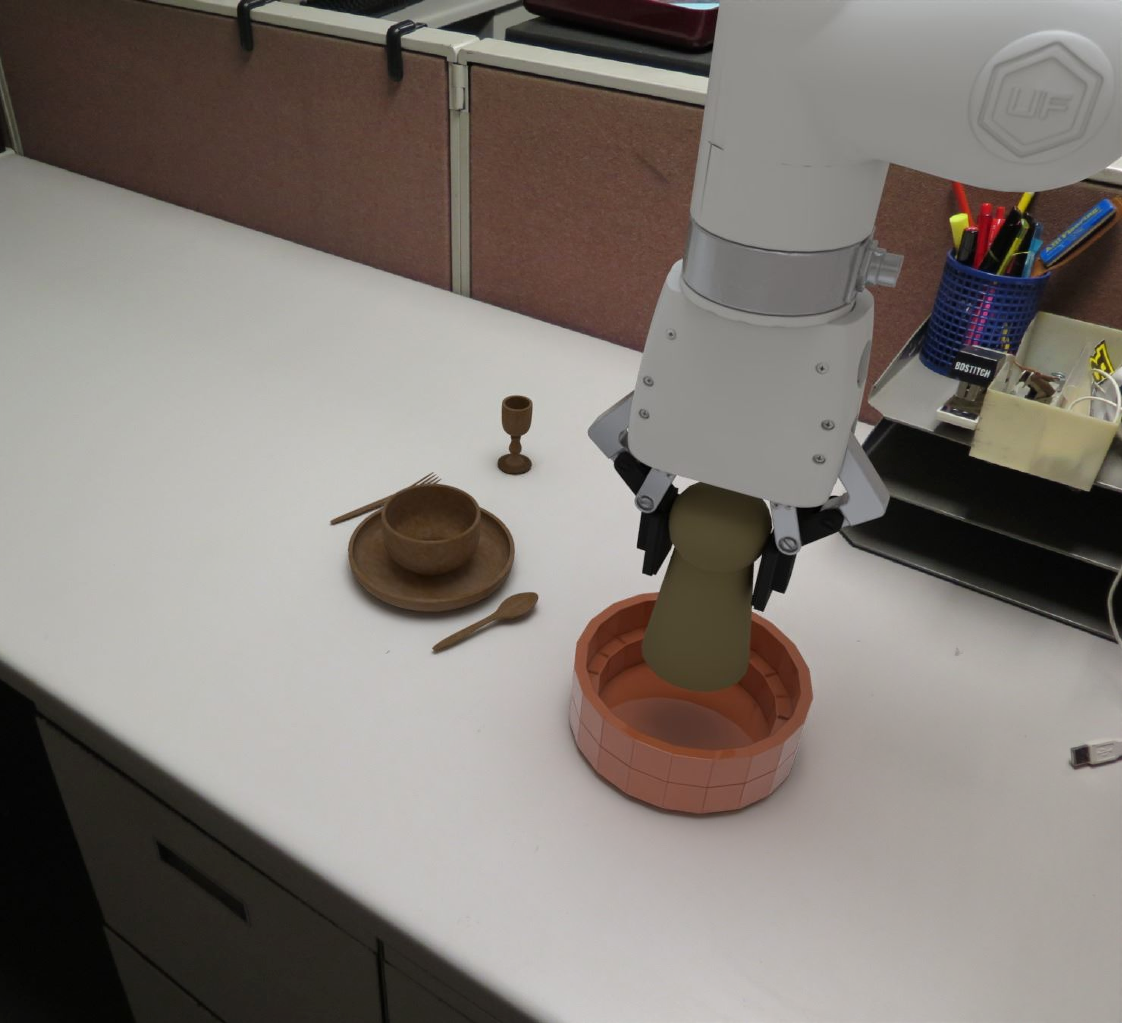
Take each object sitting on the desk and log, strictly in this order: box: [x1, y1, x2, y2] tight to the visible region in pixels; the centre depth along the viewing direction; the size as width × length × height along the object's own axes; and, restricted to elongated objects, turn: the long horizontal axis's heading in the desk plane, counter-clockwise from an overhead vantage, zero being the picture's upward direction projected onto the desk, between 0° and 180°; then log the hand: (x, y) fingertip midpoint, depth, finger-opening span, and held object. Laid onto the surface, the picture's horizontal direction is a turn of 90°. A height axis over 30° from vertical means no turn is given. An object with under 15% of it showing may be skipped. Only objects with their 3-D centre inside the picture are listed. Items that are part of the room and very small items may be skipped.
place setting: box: [329, 394, 539, 651], centre depth 76 cm, size 18×20×6 cm
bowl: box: [568, 591, 814, 814], centre depth 62 cm, size 13×13×5 cm
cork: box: [641, 481, 773, 692], centre depth 56 cm, size 6×6×11 cm
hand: (709, 574), depth 56 cm, fingers closed on cork, 5 cm apart
